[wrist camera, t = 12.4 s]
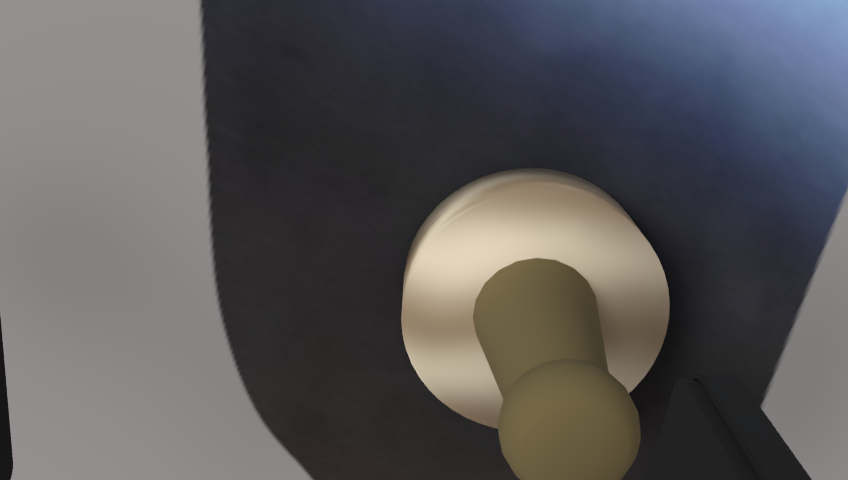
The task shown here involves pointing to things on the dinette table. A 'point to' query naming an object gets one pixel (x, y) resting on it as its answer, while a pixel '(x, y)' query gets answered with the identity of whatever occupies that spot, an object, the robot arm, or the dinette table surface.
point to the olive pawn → (554, 375)
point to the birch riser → (514, 241)
